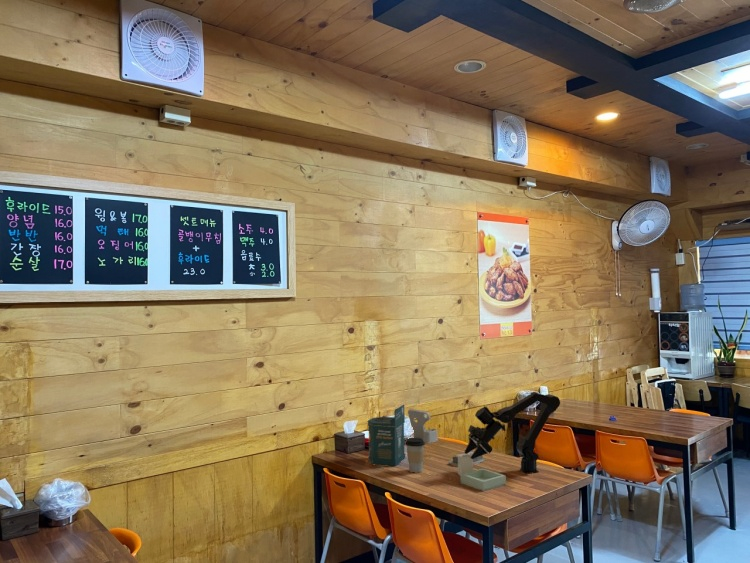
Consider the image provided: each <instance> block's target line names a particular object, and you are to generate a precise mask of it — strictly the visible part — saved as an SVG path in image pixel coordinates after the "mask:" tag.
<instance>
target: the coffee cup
mask: <svg viewBox="0 0 750 563" xmlns="http://www.w3.org/2000/svg"><path fill="white" fill-rule="evenodd" d="M404 445H406V454H407V456H406V457H407V462H408V467H409V468H408V469H409V470H408V471H409V472H410V473H412V472H415V473H414V474H419V473H421V472H422V471H423V465H424V464H423V462H424V453H425V449H424V448H425V445H426V443H425V442H424V441H423V439H421V438H409V439H406V441H405V442H404ZM418 472H419V473H418Z"/></svg>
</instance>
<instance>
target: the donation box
mask: <svg viewBox="0 0 750 563" xmlns="http://www.w3.org/2000/svg"><path fill="white" fill-rule="evenodd" d="M393 412H394V413H393V414H394V417H393V416H379V417H377V416H376V417H372V418H370V419H369V420H367V426H368V461H367V462H368V463H369V464H372V465H373V464H375V466H382V465H388V466H387V467H393V466H396V467H397V466H399V464H400V463H402V462H403V461H404V460H405V459H406V453H405V420H406V419H405V404H402V405H401V406H399V407H397V408H395V409H394V411H393ZM402 460H403V461H402ZM401 461H402V462H401Z"/></svg>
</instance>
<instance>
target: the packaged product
mask: <svg viewBox="0 0 750 563" xmlns="http://www.w3.org/2000/svg"><path fill="white" fill-rule="evenodd" d="M474 451H475V450H472V451H470V452H469V453H467V454H470V455H471V456H472V454H473V453H474ZM461 454H465V453H464V452H463V453H460V454H457V455H454V456H452V460H449V461H448V462H447V464H448V465H451V466H453V467H454V466H455V467H457V468H458V455H461ZM483 456H484V455H481V456H479V457H476V458H474V459H473V466H474V465H477V464H480V462H481V463H484V462H483V461H485V462H487V459H486V458H483Z"/></svg>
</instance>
